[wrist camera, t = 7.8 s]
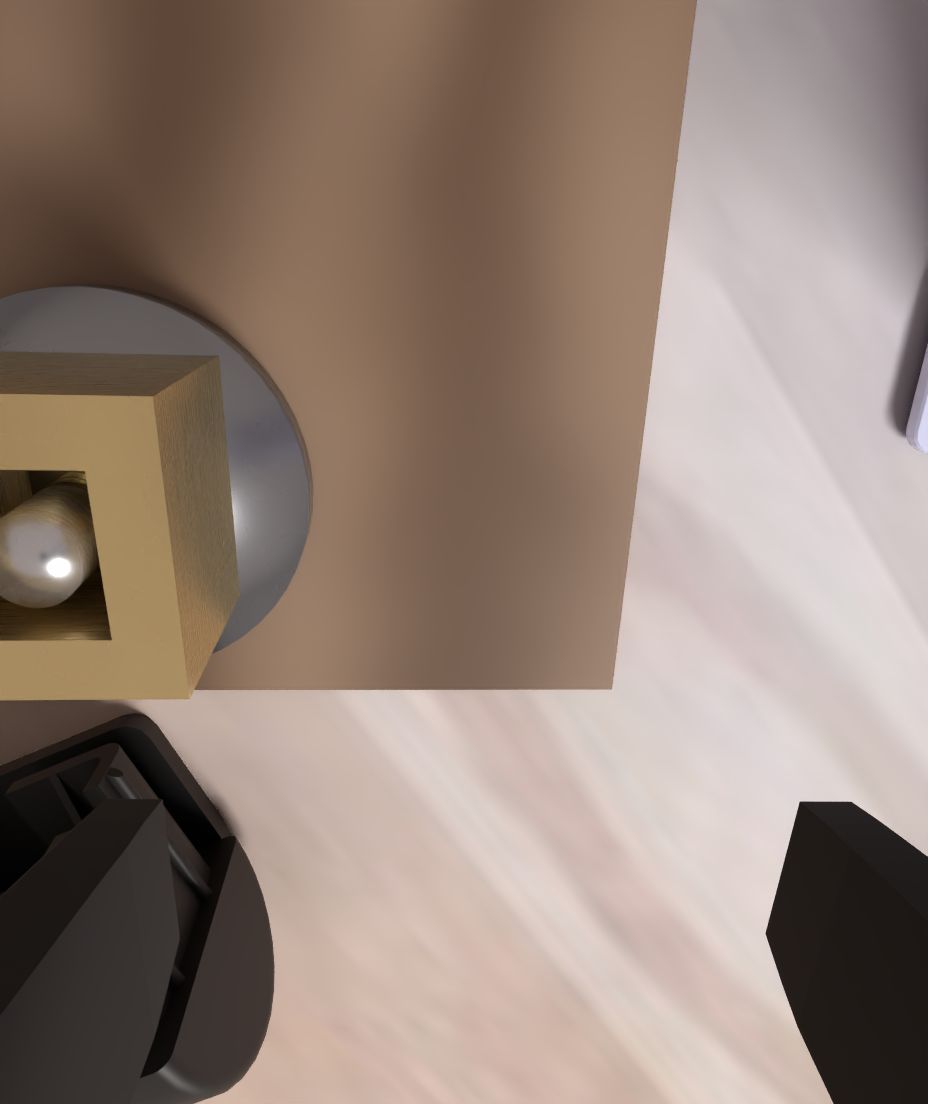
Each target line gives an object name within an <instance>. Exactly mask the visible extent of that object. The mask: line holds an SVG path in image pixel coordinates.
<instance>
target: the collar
mask: <svg viewBox="0 0 928 1104" xmlns="http://www.w3.org/2000/svg"><path fill="white" fill-rule="evenodd" d="M28 470H66V471H85V475H86V481H87V488H88V494H89V500H90V506H91V513H92V519H93V525H94V531H95V538H96V544H97V550H98V556H99V563H100V565H99V566H98V567H97V569H96V570H95V571H94V572H93V573H92V574H91V575H90V576H89V577H88V578H87V579H86V580H85V581H84V582H83V583H82V584H81V585H80V586H79V587H78V588H77V589H76V590H75V592H74V593H73V594H72V595H71V596H70V597H68V598H67V599H66V600H64V601H63V602H61V603H59V604H57V605H54V606H51V607H46V608H29V607H24V606H20V605H17V604H14V603H12V602H10V601H8V600H6V599H4V598H3V597H1V596H0V700H125V699H190V697H191V695H192V693H193V691H194V689H195V687H196V685H197V683H198V681H199V679H200V677H201V675H202V673H203V671H204V669H205V667H206V665H207V662H208V660H209V658H210V656H211V654H212V652H213V650H214V648H215V646H216V644H217V642H218V640H219V638H220V636H221V634H222V632H223V630H224V628H225V626H226V624H227V621H228V619H229V617H230V615H231V613H232V611H233V609H234V607H235V605H236V603H237V601H238V599H239V597H240V588H239V576H238V565H237V553H236V542H235V531H234V519H233V508H232V497H231V485H230V474H229V462H228V451H227V440H226V428H225V417H224V406H223V394H222V383H221V371H220V360H219V356H208V355H159V354H111V353H62V352H14V351H0V518H1V517H3V516H4V515H6V514H7V513H9V512H10V511H12V510H13V509H15V508H16V507H18V506H19V505H20V504H22V503H23V502H25V501H26V500H28V499H29V498H31V497H32V490H31V485H30V480H29V474H28Z"/></svg>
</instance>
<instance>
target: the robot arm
mask: <svg viewBox="0 0 928 1104" xmlns="http://www.w3.org/2000/svg"><path fill="white" fill-rule="evenodd" d="M906 437H907V440H908V442H909V444H910V445H911V446H912V447H913V448H915V449H917V450H919V451H922V452H925V453H928V345H927V349H926V353H925V357H924V361H923V365H922V369H921V373H920V377H919V381H918V385H917V389H916V393H915V397H914V401H913V405H912V408H911V412H910V416H909V420H908V424H907V430H906ZM766 936H767V939H768V942H769V945H770V948H771V951H772V954H773V957H774V961H775V964H776V967H777V970H778V973H779V976H780V979H781V982H782V985H783V988H784V990H785V993H786V996H787V999H788V1001H789V1004H790V1007H791V1010H792V1012H793V1015H794V1018H795V1021H796V1024H797V1026H798V1028H799V1031H800V1033H801V1035H802V1037H803V1039H804V1042H805V1044H806V1046H807V1048H808V1050H809V1052H810V1055H811V1057H812V1059H813V1061H814V1063H815V1065H816V1067H817V1069H818V1072H819V1074H820V1076H821V1078H822V1080H823V1082H824V1084H825V1086H826V1088H827V1091H828V1093H829V1095H830V1097H831V1099H832V1101H833V1103H834V1104H928V857H927V856H926V855H925V854H923V853H922V852H921V851H919V850H918V849H916V848H915V847H914V846H912V845H911V844H910V843H908V842H907V841H906V840H904V839H903V838H902V837H900V836H899V835H898V834H896V833H895V832H894V831H892V830H891V829H889V828H888V827H887V826H885V825H884V824H883V823H881V822H880V821H878V820H877V819H876V818H874V817H873V816H871V815H870V814H868V813H867V812H865V811H864V810H862V809H861V808H860V807H858V806H857V805H855V804H854V803H852V802H800V803H799V807H798V811H797V815H796V819H795V822H794V826H793V830H792V834H791V838H790V842H789V845H788V849H787V853H786V857H785V861H784V865H783V868H782V872H781V876H780V880H779V884H778V888H777V892H776V895H775V899H774V903H773V907H772V911H771V915H770V918H769V922H768V926H767V930H766ZM179 939H180V934H179V926H178V918H177V910H176V902H175V894H174V886H173V878H172V870H171V862H170V854H169V846H168V838H167V830H166V822H165V814H164V806H163V799H105V800H104V801H103V802H102V803H101V804H100V805H99V806H98V807H96V808H95V809H94V810H93V811H92V812H91V813H90V814H89V815H88V816H86V817H85V818H84V819H83V820H82V821H81V822H80V823H79V824H78V825H76V826H75V827H74V828H73V829H72V830H71V831H70V832H69V833H68V834H67V835H66V836H65V837H64V838H62V839H61V840H60V841H59V842H58V843H57V844H56V845H55V846H54V847H53V848H52V849H51V850H50V851H49V852H48V853H46V854H45V855H44V856H43V857H42V858H41V859H40V860H39V861H38V862H37V863H36V864H35V865H34V866H33V867H31V868H30V869H29V870H28V871H27V872H26V873H25V874H24V875H23V876H22V877H21V878H20V879H19V880H17V881H16V882H15V883H14V884H13V885H12V886H11V887H10V888H9V889H8V890H7V891H6V892H5V893H3V894H2V895H1V896H0V1104H130V1103H131V1100H132V1098H133V1095H134V1092H135V1090H136V1087H137V1084H138V1081H139V1079H140V1076H141V1073H142V1070H143V1068H144V1065H145V1062H146V1059H147V1057H148V1054H149V1051H150V1048H151V1045H152V1043H153V1040H154V1037H155V1034H156V1030H157V1026H158V1022H159V1019H160V1015H161V1011H162V1007H163V1004H164V1000H165V996H166V992H167V988H168V984H169V980H170V976H171V972H172V968H173V964H174V960H175V956H176V951H177V947H178V943H179Z"/></svg>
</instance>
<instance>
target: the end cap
mask: <svg viewBox="0 0 928 1104" xmlns="http://www.w3.org/2000/svg"><path fill="white" fill-rule="evenodd" d="M105 799H163V806H164V814H165V822H166V830H167V838H168V846H169V854H170V862H171V870H172V878H173V886H174V894H175V902H176V910H177V918H178V926H179V934H180V939H179V943H178V947H177V951H176V956H175V960H174V964H173V968H172V972H171V976H170V980H169V984H168V988H167V992H166V996H165V1000H164V1004H163V1007H162V1011H161V1015H160V1019H159V1022H158V1026H157V1030H156V1034H155V1037H154V1040H153V1043H152V1045H151V1048H150V1051H149V1054H148V1057H147V1059H146V1062H145V1065H144V1068H143V1070H142V1073H141V1076H140V1079H139V1081H138V1084H137V1087H136V1090H135V1092H134V1095H133V1098H132V1100H131V1103H130V1104H194V1103H197V1102H200V1101H202V1100H205V1099H208V1098H211V1097H214V1096H216V1095H219V1094H222V1093H224V1092H226V1091H228V1090H229V1089H230V1088H231V1087H233V1086H234V1085H235V1084H236V1083H237V1082H239V1081H240V1080H241V1079H242V1078H243V1077H244V1076H245V1074H246V1073H247V1071H248V1070H249V1068H250V1067H251V1065H252V1064H253V1062H254V1061H255V1060H256V1057H257V1055H258V1053H259V1050H260V1048H261V1046H262V1043H263V1041H264V1038H265V1036H266V1032H267V1028H268V1024H269V1020H270V1016H271V1010H272V1002H273V994H274V954H273V941H272V935H271V929H270V923H269V917H268V913H267V909H266V906H265V902H264V898H263V894H262V891H261V888H260V886H259V883H258V880H257V877H256V874H255V872H254V870H253V868H252V866H251V864H250V861H249V859H248V857H247V855H246V853H245V851H244V850H243V848H242V847H241V845H240V843H239V842H238V840H237V838H236V837H235V836H231V834H230V832H229V830H228V828H227V826H226V824H225V822H224V820H223V818H222V817H221V815H220V814H219V812H218V811H217V810H216V808H215V807H214V805H213V804H212V802H211V801H210V800H209V798H208V797H207V795H206V794H205V792H204V791H203V790H202V788H201V787H200V785H199V784H198V783H197V781H196V780H195V778H194V777H193V775H192V774H191V773H190V771H189V770H188V768H187V767H186V765H185V764H184V763H183V761H182V760H181V758H180V757H179V756H178V754H177V753H176V751H175V750H174V748H173V747H172V746H171V744H170V743H169V741H168V740H167V738H166V737H165V736H164V734H163V733H162V731H161V730H160V728H159V727H158V726H157V725H156V724H155V723H154V722H153V721H152V720H151V719H149V718H148V717H145V716H142V715H139V714H131V715H124V716H121V717H119V718H117V719H114V720H112V721H109V722H107V723H104V724H102V725H100V726H97V727H95V728H92V729H90V730H87V731H85V732H83V733H80V734H78V735H75V736H73V737H71V738H68V739H66V740H63V741H61V742H58V743H56V744H54V745H51V746H49V747H46V748H44V749H41V750H39V751H37V752H34V753H32V754H29V755H27V756H24V757H22V758H20V759H17V760H15V761H12V762H10V763H8V764H5V765H3V766H0V896H1V895H2V894H3V893H5V892H6V891H7V890H8V889H9V888H10V887H11V886H12V885H13V884H14V883H15V882H16V881H17V880H19V879H20V878H21V877H22V876H23V875H24V874H25V873H26V872H27V871H28V870H29V869H30V868H31V867H33V866H34V865H35V864H36V863H37V862H38V861H39V860H40V859H41V858H42V857H43V856H44V855H45V854H46V853H48V852H49V851H50V850H51V849H52V848H53V847H54V846H55V845H56V844H57V843H58V842H59V841H60V840H61V839H62V838H64V837H65V836H66V835H67V834H68V833H69V832H70V831H71V830H72V829H73V828H74V827H75V826H76V825H78V824H79V823H80V822H81V821H82V820H83V819H84V818H85V817H86V816H88V815H89V814H90V813H91V812H92V811H93V810H94V809H95V808H96V807H98V806H99V805H100V804H101V803H102V802H103V801H104V800H105Z"/></svg>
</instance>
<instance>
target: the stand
mask: <svg viewBox="0 0 928 1104" xmlns="http://www.w3.org/2000/svg"><path fill="white" fill-rule="evenodd" d="M0 351H14V352H62V353H111V354H159V355H208V356H219V360H220V371H221V383H222V394H223V406H224V417H225V428H226V440H227V451H228V462H229V474H230V485H231V497H232V508H233V519H234V531H235V542H236V553H237V565H238V576H239V588H240V597H239V599H238V601H237V603H236V605H235V607H234V609H233V611H232V613H231V615H230V617H229V619H228V621H227V624H226V626H225V628H224V630H223V632H222V634H221V636H220V638H219V640H218V642H217V644H216V646H215V648H214V650H213V652H212V654H213V653H215V652H217V651H220V650H222V649H224V648H225V647H227V646H229V645H230V644H232V643H234V642H235V641H237V640H239V639H240V638H242V637H243V636H244V635H246V634H247V633H248V632H249V631H251V630H252V629H253V628H254V627H255V626H257V625H258V624H259V623H260V622H261V621H262V620H263V619H264V618H265V617H266V616H267V615H268V613H269V612H270V611H271V610H272V609H273V608H274V607H275V605H276V604H277V603H278V601H279V600H280V598H281V597H282V595H283V594H284V592H285V591H286V590H287V588H288V586H289V584H290V582H291V580H292V578H293V576H294V574H295V572H296V570H297V567H298V564H299V562H300V559H301V556H302V553H303V550H304V547H305V544H306V541H307V538H308V535H309V530H310V524H311V518H312V512H313V480H312V471H311V463H310V459H309V455H308V451H307V447H306V443H305V440H304V437H303V434H302V432H301V429H300V427H299V424H298V422H297V419H296V417H295V415H294V413H293V411H292V409H291V407H290V406H289V404H288V402H287V400H286V398H285V396H284V395H283V393H282V392H281V390H280V389H279V387H278V386H277V385H276V383H275V382H274V380H273V379H272V378H271V376H270V375H269V373H268V372H267V371H266V370H265V369H264V368H263V366H262V365H261V364H260V363H259V362H258V361H257V360H256V359H255V358H254V357H253V356H252V354H251V353H250V352H249V351H248V350H247V349H245V348H244V347H243V346H242V345H241V344H240V343H238V342H237V341H236V340H235V339H234V338H233V337H231V336H230V335H229V334H228V333H227V332H225V331H224V330H222V329H221V328H219V327H218V326H216V325H215V324H213V323H212V322H210V321H209V320H207V319H206V318H204V317H203V316H201V315H199V314H197V313H195V312H193V311H191V310H189V309H187V308H185V307H183V306H181V305H179V304H177V303H175V302H172V301H169V300H167V299H164V298H161V297H159V296H156V295H153V294H150V293H146V292H142V291H138V290H133V289H129V288H125V287H118V286H108V285H98V284H81V285H62V286H55V287H48V288H42V289H37V290H31V291H25V292H20V293H16V294H13V295H10V296H7V297H4V298H1V299H0ZM28 474H29V480H30V485H31V490H32V497H31V498H29V499H28V500H26V501H25V502H23V503H22V504H20V505H19V506H18V507H16V508H15V509H13V510H12V511H10V512H9V513H7V514H6V515H4V516H3V517H1V518H0V596H1V597H3V598H4V599H6V600H8V601H10V602H12V603H14V604H17V605H20V606H24V607H29V608H46V607H51V606H54V605H57V604H59V603H61V602H63V601H64V600H66V599H67V598H68V597H70V596H71V595H72V594H73V593H74V592H75V590H76V589H77V588H78V587H79V586H80V585H81V584H82V583H83V582H84V581H85V580H86V579H87V578H88V577H89V576H90V575H91V574H92V573H93V572H94V571H95V570H96V569H97V567H98V566H99V565H100V563H99V556H98V550H97V544H96V538H95V531H94V525H93V519H92V513H91V506H90V500H89V494H88V488H87V481H86V475H85V471H66V470H28Z"/></svg>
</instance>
